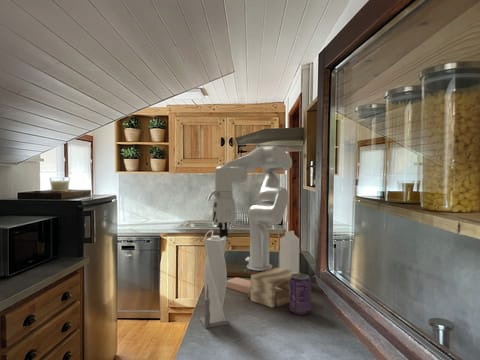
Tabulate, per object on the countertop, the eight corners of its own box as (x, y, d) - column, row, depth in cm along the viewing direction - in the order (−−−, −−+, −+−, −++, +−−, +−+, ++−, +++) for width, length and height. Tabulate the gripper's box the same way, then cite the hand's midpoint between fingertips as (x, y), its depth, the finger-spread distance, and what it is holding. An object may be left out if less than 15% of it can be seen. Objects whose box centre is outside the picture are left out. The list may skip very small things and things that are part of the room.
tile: (225, 288, 140) (225, 280, 140) (236, 284, 145) (236, 277, 145) (255, 297, 130) (255, 289, 130) (266, 292, 135) (266, 285, 135)
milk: (299, 282, 147) (299, 231, 147) (290, 285, 143) (290, 232, 142) (288, 279, 151) (288, 229, 151) (279, 282, 147) (279, 231, 147)
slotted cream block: (245, 298, 127) (245, 273, 127) (271, 288, 138) (271, 266, 138) (274, 308, 117) (274, 281, 117) (300, 297, 128) (300, 272, 128)
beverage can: (297, 306, 119) (297, 271, 119) (315, 311, 114) (315, 276, 114) (285, 311, 114) (285, 275, 114) (302, 317, 109) (302, 280, 109)
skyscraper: (198, 317, 109) (198, 230, 109) (222, 313, 112) (222, 228, 112) (205, 328, 102) (205, 234, 101) (230, 323, 105) (231, 232, 104)
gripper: (216, 196, 139) (216, 241, 139) (242, 195, 149) (242, 237, 149) (204, 195, 144) (204, 239, 144) (230, 194, 154) (230, 235, 154)
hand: (223, 238), depth 146 cm, fingers closed
